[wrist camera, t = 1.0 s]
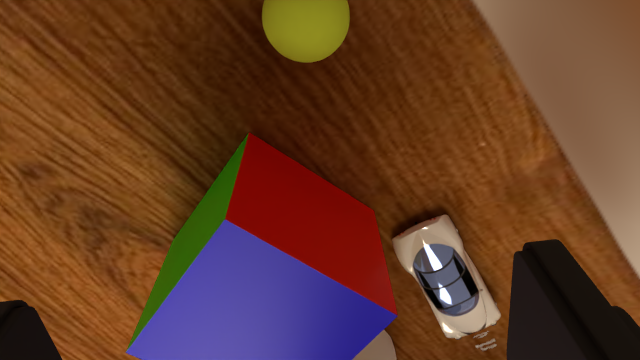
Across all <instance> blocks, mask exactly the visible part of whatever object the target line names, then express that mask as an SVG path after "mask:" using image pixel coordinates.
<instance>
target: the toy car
mask: <svg viewBox="0 0 640 360" xmlns="http://www.w3.org/2000/svg"><path fill="white" fill-rule="evenodd" d="M415 224H416V225H415V226H413V227H411V228H409V229H407V230H405V231H404V232H402V233H400V234H399V235H397V236H396V237H394V238H393V239H392V244H393V247H394V250H395V253H396V255H397V257H398V259H399V261H400V263H401V265H402V266H403V268H404V269H405V270H406V271H407V272H408V273H410V274H411V275H412V276H413V277H414V278H415V280H416V281H417V282H418V284H419V285H420V287H421V289H422V291H423V293H424V295H425V297H426V299H427V301H428V303H429V305H430V307H431V309H432V311H433V313H434V315H435V316H436V318H437V320H438V322H439V324H440V326H441V328H442V330H443V332H444V334H445V335H446V337H448V338H455V339H456V340H459V339H461V337H462V336H466V335H470V334H473V333H475V332H477V331H478V330H479V331H481V329H484V328H486V327H488V326H490V325H492V326H493V325H496V324H497V322H496V321H497V320H498V319H499V318H500V317H501V313H500V311H499V309H498V307H497V303H496V302H495V301H494V299H493V297H492V295H491V293H490V292H489V290H488V289H487V287H486V285H485V283H484V281H483V279H482V277H481V276H480V274H479V272H478V270H477V269H476V267H475V265H474V264H473V262H472V261H471V259H470V257H469V256H468V254H467V253H466V252H465V250H464V246H463V242H462V239H461V237H460V235H459V233H458V229H456V227H455V225H454V223H453V222H452V220H451V219H450V218H449V216H448V215H442V216H438V217H435V218H432V219H429V220H426V221H424V222H421V223H419V224H418V223H417V222H415ZM416 276H417V277H416ZM417 278H418V279H417ZM485 310H486V311H485ZM485 312H486V313H485ZM486 317H487V318H486ZM485 333H487V332H485ZM482 334H483V333H482ZM479 335H480V334H479ZM480 337H481V338H482V337H484V335H483V336H480ZM473 338H475V337H473ZM492 340H494V339H492ZM494 341H495V340H494ZM494 341H493V342H494ZM489 343H490V342H489ZM489 343H488V344H489ZM491 343H492V341H491ZM483 344H484V343H483ZM486 344H487V342H486ZM486 344H485V345H486ZM495 345H496V344H495ZM483 346H484V345H483ZM491 346H492V345H491ZM476 347H479V345H478V346H477V345H476ZM480 347H482V344H481V346H480ZM492 347H493V346H492ZM492 347H490V348H491V349H492ZM494 347H495V346H494ZM486 348H487V347H486ZM486 348H485V349H486ZM490 348H489V349H490ZM481 349H482V348H481ZM487 349H488V348H487ZM487 349H486V350H487ZM482 350H483V349H482Z"/></svg>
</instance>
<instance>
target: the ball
mask: <svg viewBox="0 0 640 360" xmlns="http://www.w3.org/2000/svg"><path fill="white" fill-rule="evenodd" d="M349 22H350V11H349V5H348V2H347V0H264V4H263V9H262V23H263V28H264V31H265V34H266V36H267V38H268V40H269V42H270V43H271V44H272V46H273V47H274V48H275V49H276V50H277V51H278V52H279V53H280V54H282V55H283V56H285V57H286V58H289V59H291V60H294V61H297V62H306V63H307V62H315V61H319V60H322V59H324V58H326V57H328V56H329V55H331V54H332V53H333V52H334V51H336V50H337V48H338V47H339V46H340V45H341V44H342V42H343V41H344V39H345V37H346V34H347V31H348V28H349Z"/></svg>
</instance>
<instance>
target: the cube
mask: <svg viewBox="0 0 640 360" xmlns="http://www.w3.org/2000/svg"><path fill="white" fill-rule="evenodd" d="M397 316H398V314H397V310H396V305H395V301H394V297H393V292H392V288H391V283H390V279H389V274H388V270H387V266H386V261H385V257H384V252H383V248H382V243H381V239H380V235H379V230H378V226H377V221H376V217H375V212H374V210H372V209H371V208H369V207H367V206H366V205H364V204H363V203H361V202H360V201H358V200H356V199H355V198H353V197H352V196H350V195H348V194H347V193H345V192H344V191H342V190H340V189H339V188H337V187H336V186H334V185H333V184H331V183H329V182H328V181H326V180H325V179H323V178H321V177H320V176H318V175H317V174H315V173H313V172H312V171H310V170H309V169H307V168H306V167H304V166H302V165H301V164H299V163H298V162H296V161H294V160H293V159H291V158H290V157H288V156H286V155H285V154H283V153H282V152H280V151H279V150H277V149H275V148H274V147H272V146H271V145H269V144H267V143H266V142H264V141H263V140H261V139H259V138H258V137H256V136H255V135H253V134H252V133H250V132H249V133H248V134H247V136H246V137H245V139H244V140H243V141H242V143H241V144H240V146H239V147H238V149H237V150H236V151H235V153H234V154H233V156H232V157H231V158H230V160H229V161H228V163H227V164H226V166H225V167H224V168H223V170H222V171H221V173H220V174H219V176H218V177H217V178H216V180H215V181H214V183H213V184H212V186H211V187H210V188H209V190H208V191H207V193H206V194H205V196H204V197H203V198H202V200H201V201H200V203H199V204H198V205H197V207H196V208H195V210H194V211H193V213H192V214H191V215H190V217H189V218H188V220H187V221H186V223H185V224H184V225H183V227H182V228H181V230H180V231H179V233H178V234H177V235H176V237H175V238H174V240H173V242H172V244H171V246H170V249H169V251H168V254H167V256H166V258H165V261H164V263H163V265H162V268H161V270H160V272H159V275H158V277H157V280H156V282H155V284H154V287H153V289H152V291H151V294H150V296H149V299H148V301H147V303H146V306H145V308H144V310H143V313H142V315H141V318H140V320H139V322H138V325H137V327H136V329H135V332H134V334H133V337H132V339H131V341H130V344H129V346H128V348H127V351H126V353H128V354H130V355H132V356H135V357H137V358H139V359H142V360H352V359H353V358H354V357H355V356H356V355H357V354H359V353H360V352H361V351H362V350H363V349H364V348H365V347H366V346H367V345H368V344H369V343H370V342H371V341H372V340H373V339H374V338H375V337H376V336H377V335H378V334H379V333H380V332H382V331H383V330H384V329H385V328H386V327H387V326H388V325H389V324H390V323H391V322H392V321H393V320H394V319H395V318H396V317H397Z"/></svg>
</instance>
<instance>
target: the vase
mask: <svg viewBox="0 0 640 360" xmlns="http://www.w3.org/2000/svg"><path fill="white" fill-rule="evenodd" d="M352 360H397V358H396V353H395V348H394V345H393V342H392V339H391V337H390V336H389V335H388V334H387V332H386V331H385V330H383V331H382V332H380V333H379V334H378V335H377V336H376V337H375V338H374V339H373V340H372V341H371V342H370V343H369V344H368V345H367V346H366V347H365V348H364V349H363V350H362V351H361V352H360V353H359V354H357V355H356V356H355V357H354V358H353V359H352Z"/></svg>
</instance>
